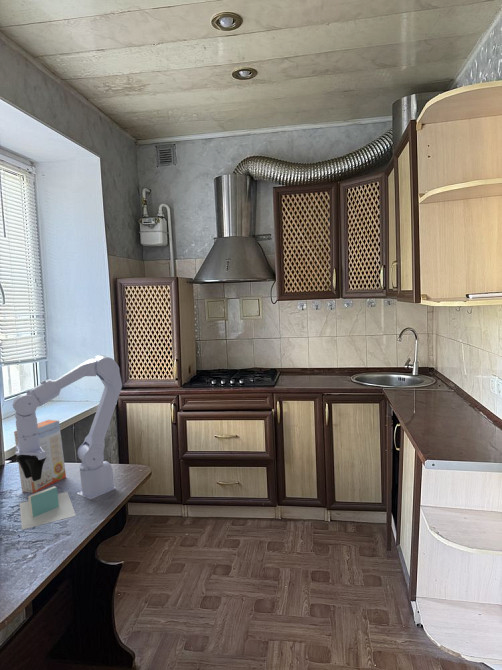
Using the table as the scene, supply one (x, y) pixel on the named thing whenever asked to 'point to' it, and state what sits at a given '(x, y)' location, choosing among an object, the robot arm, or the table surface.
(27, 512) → the mat
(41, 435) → the cracker box
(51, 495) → the tile
